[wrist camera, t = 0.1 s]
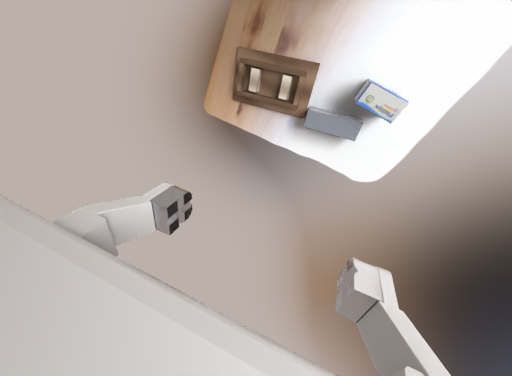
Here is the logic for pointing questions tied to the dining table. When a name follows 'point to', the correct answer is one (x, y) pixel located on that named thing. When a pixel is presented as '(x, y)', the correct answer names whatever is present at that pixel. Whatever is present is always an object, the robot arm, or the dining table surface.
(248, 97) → the brown wooden tray
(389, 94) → the medicine box
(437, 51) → the dining table surface
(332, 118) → the gray rectangular box
